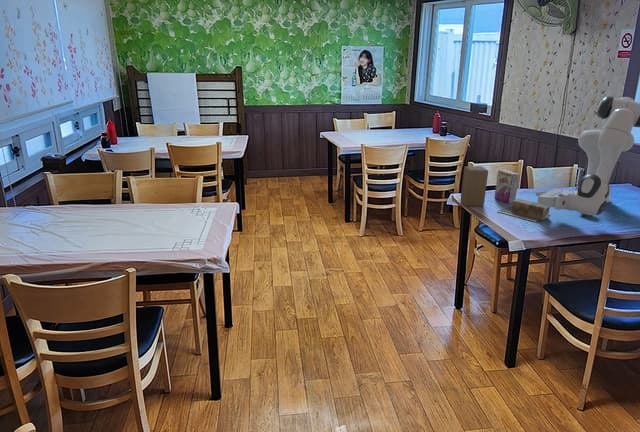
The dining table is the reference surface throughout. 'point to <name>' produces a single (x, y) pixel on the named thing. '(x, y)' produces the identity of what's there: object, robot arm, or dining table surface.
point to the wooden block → (474, 185)
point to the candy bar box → (506, 186)
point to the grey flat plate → (508, 212)
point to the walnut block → (530, 209)
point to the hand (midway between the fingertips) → (537, 193)
